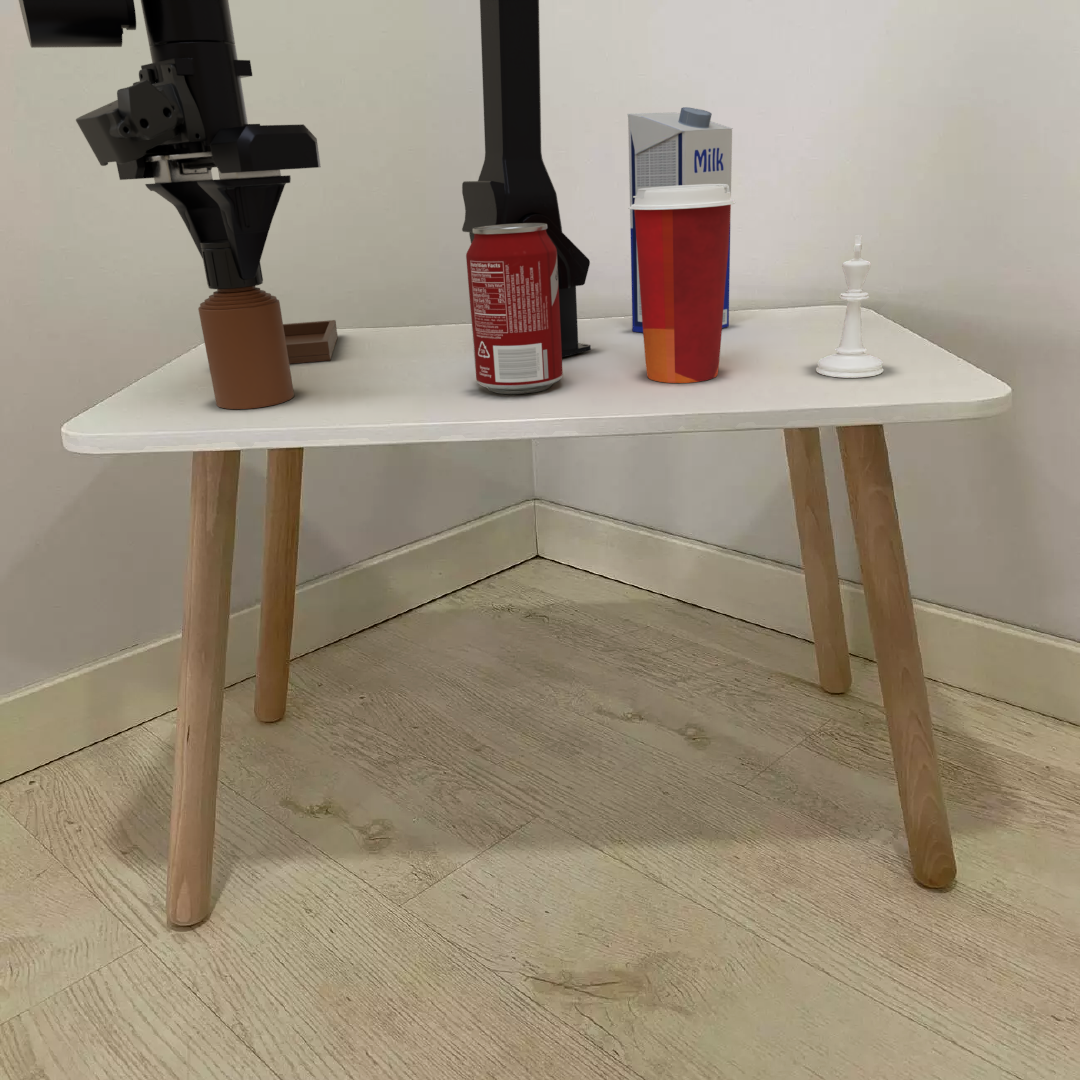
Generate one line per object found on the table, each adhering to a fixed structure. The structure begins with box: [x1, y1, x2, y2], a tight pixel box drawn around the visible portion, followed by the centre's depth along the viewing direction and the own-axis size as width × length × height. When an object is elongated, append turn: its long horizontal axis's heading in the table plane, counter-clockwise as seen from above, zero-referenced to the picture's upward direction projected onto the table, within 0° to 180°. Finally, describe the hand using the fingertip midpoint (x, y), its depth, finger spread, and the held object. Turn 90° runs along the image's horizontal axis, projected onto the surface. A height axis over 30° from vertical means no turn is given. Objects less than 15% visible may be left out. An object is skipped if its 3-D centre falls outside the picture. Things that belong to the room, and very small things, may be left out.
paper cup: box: [628, 184, 736, 384], centre depth 72 cm, size 8×8×14 cm
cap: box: [200, 239, 264, 290], centre depth 71 cm, size 4×4×3 cm
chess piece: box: [815, 234, 884, 379], centre depth 71 cm, size 5×5×10 cm
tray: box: [283, 319, 339, 365], centre depth 94 cm, size 13×10×2 cm
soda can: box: [465, 223, 564, 395], centre depth 72 cm, size 7×7×12 cm
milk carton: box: [627, 106, 734, 334], centre depth 90 cm, size 7×7×20 cm
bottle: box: [197, 286, 295, 410], centre depth 73 cm, size 6×6×12 cm
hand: (233, 277), depth 72 cm, fingers closed on cap, 4 cm apart
